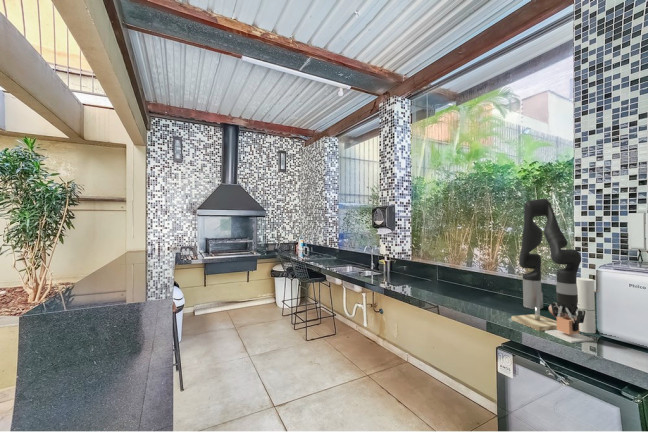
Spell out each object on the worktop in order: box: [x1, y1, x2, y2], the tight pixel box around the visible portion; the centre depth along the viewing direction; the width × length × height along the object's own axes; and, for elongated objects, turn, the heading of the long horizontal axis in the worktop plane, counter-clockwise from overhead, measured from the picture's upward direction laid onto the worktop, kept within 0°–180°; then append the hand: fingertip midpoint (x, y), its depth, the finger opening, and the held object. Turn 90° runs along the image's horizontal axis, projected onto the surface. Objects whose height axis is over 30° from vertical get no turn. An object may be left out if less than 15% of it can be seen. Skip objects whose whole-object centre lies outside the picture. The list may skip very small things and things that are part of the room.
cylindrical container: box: [576, 277, 597, 334], centre depth 137 cm, size 7×7×25 cm
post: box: [534, 307, 541, 321], centre depth 146 cm, size 2×2×6 cm
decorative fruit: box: [548, 304, 569, 319], centre depth 152 cm, size 9×8×10 cm
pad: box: [544, 329, 594, 344], centre depth 130 cm, size 12×12×1 cm
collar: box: [556, 316, 580, 335], centre depth 130 cm, size 6×6×6 cm
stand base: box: [511, 313, 557, 332], centre depth 145 cm, size 16×16×2 cm
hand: (567, 328), depth 130 cm, fingers closed on collar, 5 cm apart
